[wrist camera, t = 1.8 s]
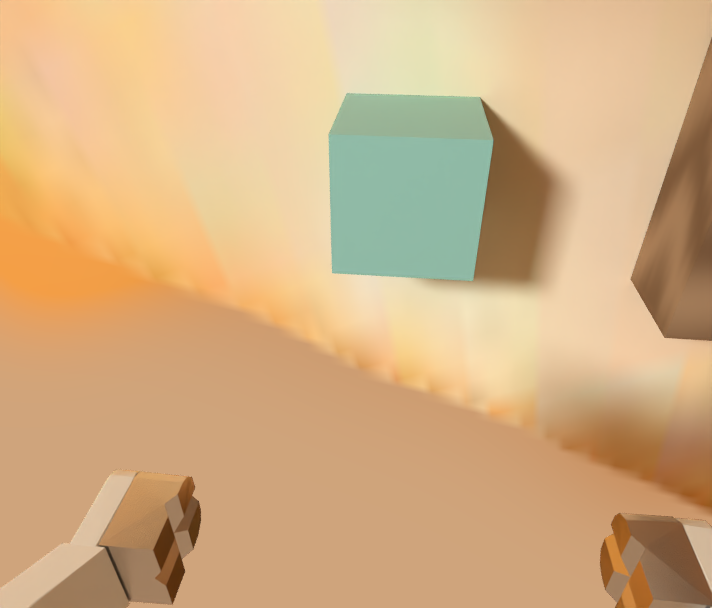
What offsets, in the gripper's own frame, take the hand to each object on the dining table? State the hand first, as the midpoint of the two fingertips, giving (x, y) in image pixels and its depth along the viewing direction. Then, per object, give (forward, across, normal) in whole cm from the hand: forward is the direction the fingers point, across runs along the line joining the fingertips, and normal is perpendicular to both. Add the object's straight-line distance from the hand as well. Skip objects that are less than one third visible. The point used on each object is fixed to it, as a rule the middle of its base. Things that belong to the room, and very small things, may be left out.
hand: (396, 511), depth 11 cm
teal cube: (+20, 0, 0) cm, 20 cm away
